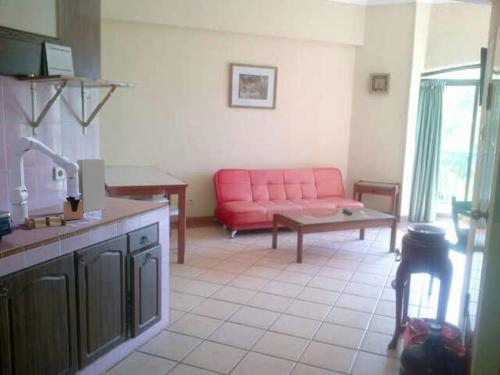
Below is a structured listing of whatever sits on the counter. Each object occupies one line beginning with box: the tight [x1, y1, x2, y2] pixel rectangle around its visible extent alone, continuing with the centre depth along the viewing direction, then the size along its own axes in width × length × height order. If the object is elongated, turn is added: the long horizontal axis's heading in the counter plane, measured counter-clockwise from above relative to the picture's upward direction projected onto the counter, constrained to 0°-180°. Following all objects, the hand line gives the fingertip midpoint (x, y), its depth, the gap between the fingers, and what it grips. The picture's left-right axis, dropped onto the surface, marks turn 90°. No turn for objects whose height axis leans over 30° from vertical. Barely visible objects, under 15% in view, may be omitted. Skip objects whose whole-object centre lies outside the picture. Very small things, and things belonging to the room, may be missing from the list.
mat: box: [66, 216, 90, 225], centre depth 240 cm, size 14×12×1 cm
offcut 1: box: [32, 217, 46, 229], centre depth 222 cm, size 3×5×4 cm, turn 127°
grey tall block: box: [76, 158, 106, 213], centre depth 265 cm, size 14×6×30 cm, turn 141°
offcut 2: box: [48, 216, 62, 227], centre depth 226 cm, size 3×5×4 cm, turn 128°
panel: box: [62, 200, 84, 220], centre depth 239 cm, size 3×9×9 cm, turn 128°
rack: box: [24, 213, 67, 230], centre depth 228 cm, size 15×16×4 cm
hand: (73, 211), depth 239 cm, fingers closed on panel, 3 cm apart
